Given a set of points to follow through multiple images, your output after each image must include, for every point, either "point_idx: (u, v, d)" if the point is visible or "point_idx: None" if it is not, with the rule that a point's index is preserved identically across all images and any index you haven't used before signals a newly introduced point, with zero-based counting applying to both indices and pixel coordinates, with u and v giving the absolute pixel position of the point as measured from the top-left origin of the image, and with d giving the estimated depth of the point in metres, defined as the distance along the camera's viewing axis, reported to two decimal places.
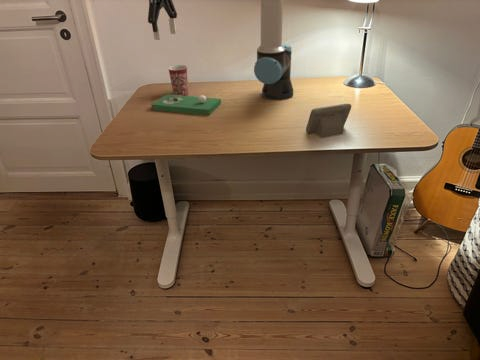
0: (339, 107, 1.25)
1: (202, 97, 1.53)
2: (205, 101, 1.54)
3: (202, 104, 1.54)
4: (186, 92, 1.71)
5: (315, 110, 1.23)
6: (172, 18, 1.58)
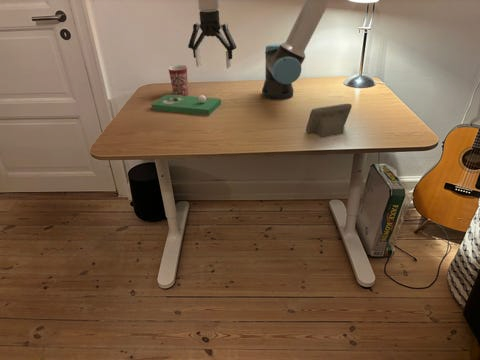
0: (339, 107, 1.25)
1: (202, 97, 1.53)
2: (205, 101, 1.54)
3: (202, 104, 1.54)
4: (186, 92, 1.71)
5: (315, 110, 1.23)
6: (227, 51, 1.39)
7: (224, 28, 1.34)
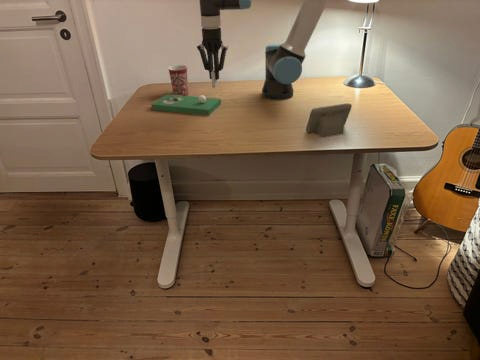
0: (339, 107, 1.25)
1: (202, 97, 1.53)
2: (205, 101, 1.54)
3: (202, 104, 1.54)
4: (186, 92, 1.71)
5: (315, 110, 1.23)
6: None
7: (223, 50, 1.38)
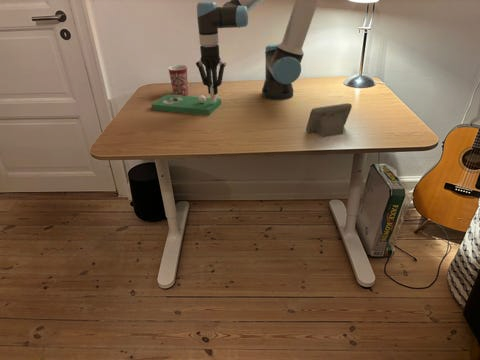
0: (339, 107, 1.25)
1: (202, 97, 1.53)
2: (205, 101, 1.54)
3: (202, 104, 1.54)
4: (186, 92, 1.71)
5: (315, 109, 1.23)
6: None
7: (222, 67, 1.42)
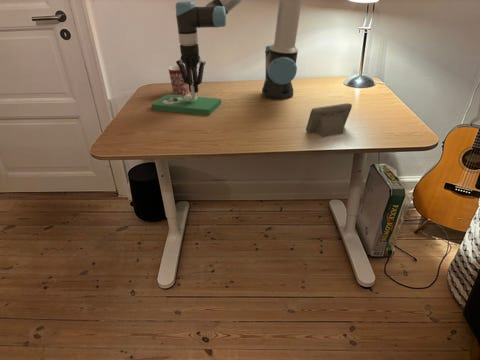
0: (339, 107, 1.25)
1: (188, 101, 1.56)
2: None
3: (202, 104, 1.54)
4: (186, 92, 1.71)
5: (315, 109, 1.23)
6: None
7: (201, 65, 1.45)
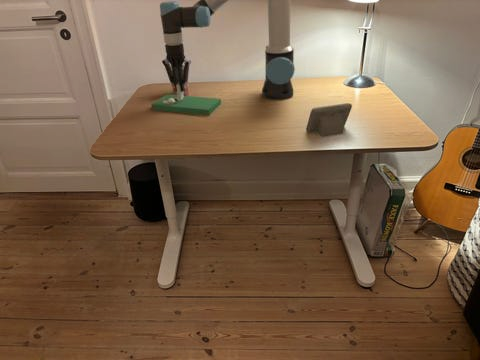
0: (339, 107, 1.25)
1: None
2: (168, 99, 1.60)
3: (202, 104, 1.54)
4: (186, 92, 1.71)
5: (315, 109, 1.23)
6: None
7: (186, 65, 1.47)
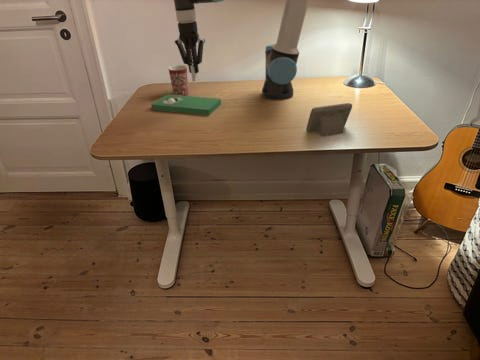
0: (339, 106, 1.25)
1: None
2: (168, 99, 1.60)
3: (202, 104, 1.54)
4: (186, 92, 1.71)
5: (315, 109, 1.24)
6: None
7: (200, 43, 1.40)
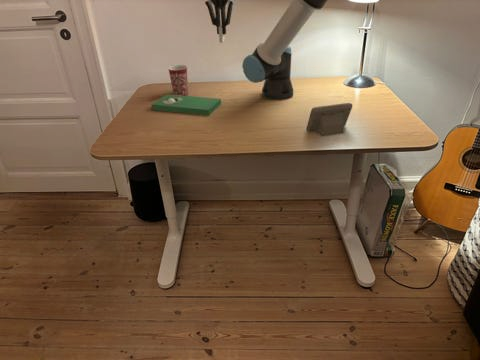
0: (340, 106, 1.25)
1: None
2: (168, 99, 1.60)
3: (202, 104, 1.54)
4: (186, 92, 1.71)
5: (315, 109, 1.24)
6: None
7: (230, 4, 1.47)
